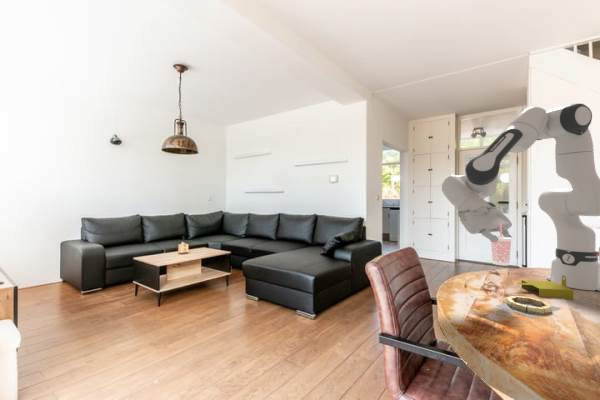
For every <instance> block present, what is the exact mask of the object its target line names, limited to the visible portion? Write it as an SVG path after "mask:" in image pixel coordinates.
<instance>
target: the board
mask: <svg viewBox="0 0 600 400" xmlns="http://www.w3.org/2000/svg"><path fill="white" fill-rule="evenodd" d="M516 303H519V304H523V305H526V306H533V307H541V306H537V305H534V304H530V303H523V302H516ZM551 306H552V312H555V311H557V310H561V309H562V308H561V307H557V306H554V305H551ZM496 307H499V308H501V309H504V310H507V311H511V312H513V313H517V314H520V315H522V316H525V317H528V318H532V319H534V318H537V317H540V316H543V315H544V314H536V313H528V312H524V311H521V310H518V309H514V308H512V307H510V306H509V305H508V304H507V303H506V302H505V303H501V304H498V305H496Z"/></svg>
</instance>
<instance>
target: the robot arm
mask: <svg viewBox="0 0 600 400" xmlns="http://www.w3.org/2000/svg"><path fill="white" fill-rule="evenodd" d="M592 120H593V113H592V110H591V109H590V107H588V106H587V105H586V104H585V103H570V104H567V105H565V106H558V107H555V108H551V109H549V110H546V109H544V108H542V107H539V106H530V107H527V108H525V109H523V110H522V111H521V112H520V113H519V114H517V115H516V116H515V117H514V119H512V121H511V122H509V124H508V125H507V126H506V128H505V129H504V130H503V132H502V133H500V135H498V136H497V137H496V138H495V139H494V140H493V141H492V143H491V144H489V146H488V147H487V148H486V149H485V150H484V151H483V152H482V153H480V154H478V155H477V156H475V157H473V158H472V159H470V160H469V161H468V162H467V164H466V165H465V170H464V171H465V174H464V175H456V174H452V175H449V176H448V177H446V178H445V180H443V182H442V184H441V191H442V194H443V195H444V197H446V199H447V200H448V202H450V204H451V205H453V206H454V207H455V208H456V209H457V211H458V212H457V216H458V218H459V221H460V223H461V224H462V225H463V227H464V229H466V231H467V232H468V233H470V234H471V235H477V234H481V235H482V236H483V237H485V238H487V239H488V240H490V243H491V242H497V241H498V240H499V239H498V238H497V237H496V236H497V235H496V234H495V235H494V234H493V233H497V232H499V233H500V223H502V237H510V238H512V239H513V236H511V234H510V233H509V229H510V228H511V227H512V226H513V224H512V221H511V220H510V219H509V218H508V217H507V216H506V215H505V214H504V213H503V212H502V210H500V209H498V208H499V207H498V205H497V204H495V203H494V202H489V201H486V200H485V198H487V197H490V196H492V195H493V194H494V193H495V192H496V190H497V186H498V178H499V173H500V167H501V163H502V161H504V158H506V157H507V156H508V154H509V153H514V154H516V153H517V154H519V153H523V152H526V151H527V150H528V149H530V148H531V147H532V146H533V145H534V144H535V143H536V141H542V140H547V139H554V140H555V145H554V146H555V147H554V149H555V152H554V153H555V154H554V155H555V156H554V158H555V172H556V174H557V176H558V177H560V178H562V179H564V180H567V182H569V184H570V186H571V188H569V187H567V188H554V189H549V190H544V191H542V192H541V194H540V195H539V197H538V202H537V203H538V204H537V205H538V207H539V208H540V209H541V211H543V212H544V213H545V214H546V215H548V217H549V218H550V219H551V221H552V222H553V225H554V227H555V230H556V242H557V243H556V248H555V251H554V253H555V257H556V258H555V259H553V260H552V261H551V265H550V266H551V267H550V275H548V276H546V280H547V281H553V282H555V283H558V284H560V285H562V276H563V275H564V276H565V277H566V287H567V288H570V289H577V290H582V291H583V290H584V291H595V290H598V291H597V292H600V263H599V257H600V251H598V250H596V242H597V241H596V236H597V235H596V232H595V231H594V229H593V228H592V227H590V226H588V225H586V224H584V223H583V222H582V221H581V218H580V216H582V217H600V177H599V175H598V174H597V170H596V164H595V155H594V154H595V152H594V142H593V137H592V134H591V132H590V129H589V127H590V126H591V124H592ZM563 279H564V280H565V278H564V277H563Z"/></svg>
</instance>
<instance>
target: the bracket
mask: <svg viewBox="0 0 600 400" xmlns="http://www.w3.org/2000/svg"><path fill="white" fill-rule="evenodd" d="M563 277H564V278H565V280H564V279H563ZM516 283H517V285H521V288H523V289H527V290H531V291H538V293H539V294H538V296H539V297H551V298H552V297H553V298H554V297H555V298H563V299H567V300H570V301H574V295H575V293H574V289H573V288H570V287H566V277H565V276H564V275H563V276H562V285H560V284H558V283H555V282H553V281H550V280H534V279H533V280H530V279H529V280H526V279H522V280H521V282H516Z"/></svg>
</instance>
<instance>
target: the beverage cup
mask: <svg viewBox="0 0 600 400" xmlns="http://www.w3.org/2000/svg"><path fill="white" fill-rule="evenodd" d="M496 237H497V238H498V239H499V240H498V241H497V242H491V241H490V243H491V245H490V246H491V256H492V257H491V258H492V264H493V265H495V266H510V259H511V250H512V249H511V245H512V241H513V237H512V238H510V237H504V236H503V235H502V223H500V232H499V236H497V235H496Z"/></svg>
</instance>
